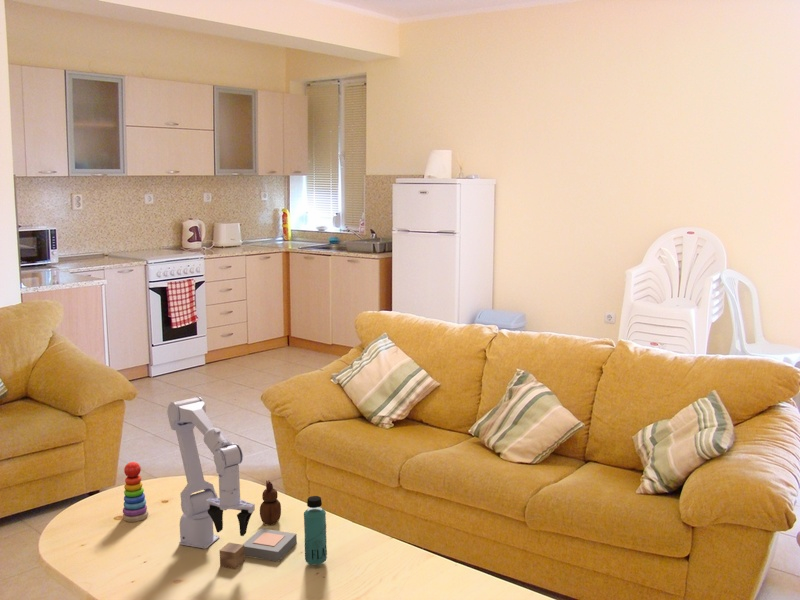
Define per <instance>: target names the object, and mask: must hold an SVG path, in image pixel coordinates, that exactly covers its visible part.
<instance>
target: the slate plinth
mask: <svg viewBox="0 0 800 600" xmlns="http://www.w3.org/2000/svg"><path fill="white" fill-rule="evenodd" d="M297 538H298V537H297V533H293V532H289V531H281V530H274V529H270V528H268V529H267V528H260V529H258V530H257V531H256V532H255V533H254V534H252V536H250V537H249V538H248V539H247V540H246V541H245V542H244V543H242V545H244V557H247V558H255V559H258V560H259V559H260V560H267V561H272V562H278V563H279V562H280V560H281V559H283V557H284V556H286V554H287V553H288V552H289V551H290V550H291V549H293V547H294V546H295V545H297Z"/></svg>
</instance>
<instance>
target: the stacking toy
mask: <svg viewBox="0 0 800 600" xmlns="http://www.w3.org/2000/svg"><path fill="white" fill-rule="evenodd" d="M123 471H124V472H123V473H124V474H125V477H126V478H125V480H124V482H125V484H124V491H123V493H124V497H123V501H124V502H123V508H122V519H123V520H124V521H125V522H128V523H135V522H136V523H137V522H140V521H143V520H145V519H146V518H148V516H149V511H148V510H147V509H148V506H147V500H146V495H145V493H144V491H145V490H144V488H143V483H142V477H141V476H140V473H141V471H142V468H141V465H140V464H139V463H138V462H136V461H131V462H128V463H127V464H126V465H125V466H124V469H123Z"/></svg>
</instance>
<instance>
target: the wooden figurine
mask: <svg viewBox="0 0 800 600" xmlns="http://www.w3.org/2000/svg"><path fill="white" fill-rule="evenodd" d="M265 484H266V485H265V486H266V487H265V489H264V490H263V491H262V495H261V497H262V498H261V499H262V503H260V507H259V517H260V519H261V522H262V524H264V525H266V526H273V525H275V524H277V523H278V522H279V521H280V518H281V515H282V505H281V502H280V501H279V500H278V491H277V489H276V488H274V485H273V483H272V481H270V480H266V483H265Z"/></svg>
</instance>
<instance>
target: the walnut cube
mask: <svg viewBox="0 0 800 600" xmlns="http://www.w3.org/2000/svg"><path fill="white" fill-rule="evenodd" d="M245 557H246V556H244V545H243V544H240V543H233V542H227V543H226V544H225V545H224V546H223V547H222V548H221V549H219V565H220V568H227V569H233V570H237V569H238V568H239V567H240V566H241V565H242V564H243V563H244V562H245V560H246V559H245Z"/></svg>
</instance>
